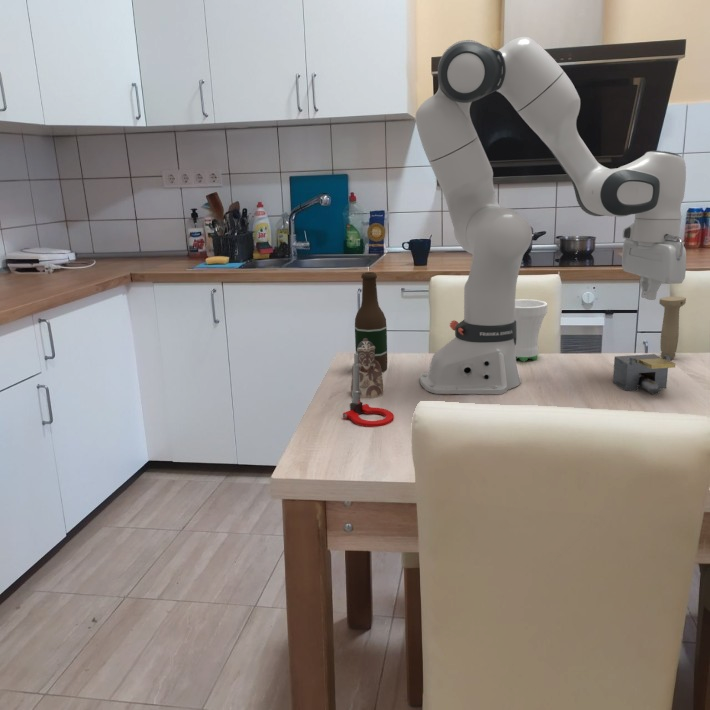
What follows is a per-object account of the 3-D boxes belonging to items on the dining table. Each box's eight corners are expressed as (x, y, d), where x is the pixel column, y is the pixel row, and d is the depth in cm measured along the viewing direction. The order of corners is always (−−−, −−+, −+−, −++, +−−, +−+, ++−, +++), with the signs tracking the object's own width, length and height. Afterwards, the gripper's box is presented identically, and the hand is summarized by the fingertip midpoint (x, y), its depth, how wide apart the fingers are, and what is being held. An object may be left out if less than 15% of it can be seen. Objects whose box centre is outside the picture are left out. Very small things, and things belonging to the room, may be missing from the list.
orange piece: (643, 394, 140) (644, 379, 139) (616, 378, 151) (617, 363, 150) (665, 393, 140) (667, 378, 139) (637, 377, 152) (638, 362, 151)
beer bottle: (385, 374, 161) (383, 275, 155) (353, 374, 162) (350, 275, 156) (389, 365, 168) (387, 270, 162) (358, 365, 170) (355, 270, 164)
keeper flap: (649, 368, 136) (649, 365, 136) (634, 362, 141) (635, 358, 141) (677, 367, 136) (677, 363, 136) (662, 361, 142) (662, 357, 142)
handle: (684, 358, 165) (690, 298, 161) (668, 362, 162) (673, 301, 158) (667, 354, 169) (672, 295, 166) (650, 358, 166) (655, 298, 162)
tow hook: (402, 420, 132) (367, 408, 138) (403, 357, 129) (367, 348, 135) (374, 432, 126) (339, 420, 132) (374, 367, 123) (338, 357, 129)
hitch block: (628, 392, 142) (630, 358, 140) (612, 382, 149) (615, 350, 147) (669, 389, 143) (672, 356, 141) (652, 380, 150) (654, 348, 148)
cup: (501, 363, 167) (502, 307, 163) (498, 352, 177) (499, 299, 174) (548, 363, 165) (550, 307, 161) (542, 352, 176) (544, 298, 172)
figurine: (348, 398, 145) (346, 344, 142) (353, 388, 152) (351, 336, 149) (381, 398, 144) (380, 344, 141) (384, 388, 151) (383, 336, 148)
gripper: (699, 237, 129) (689, 307, 133) (646, 229, 149) (639, 291, 153) (667, 237, 129) (658, 308, 132) (619, 229, 149) (613, 291, 152)
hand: (648, 298), depth 143 cm, fingers closed
